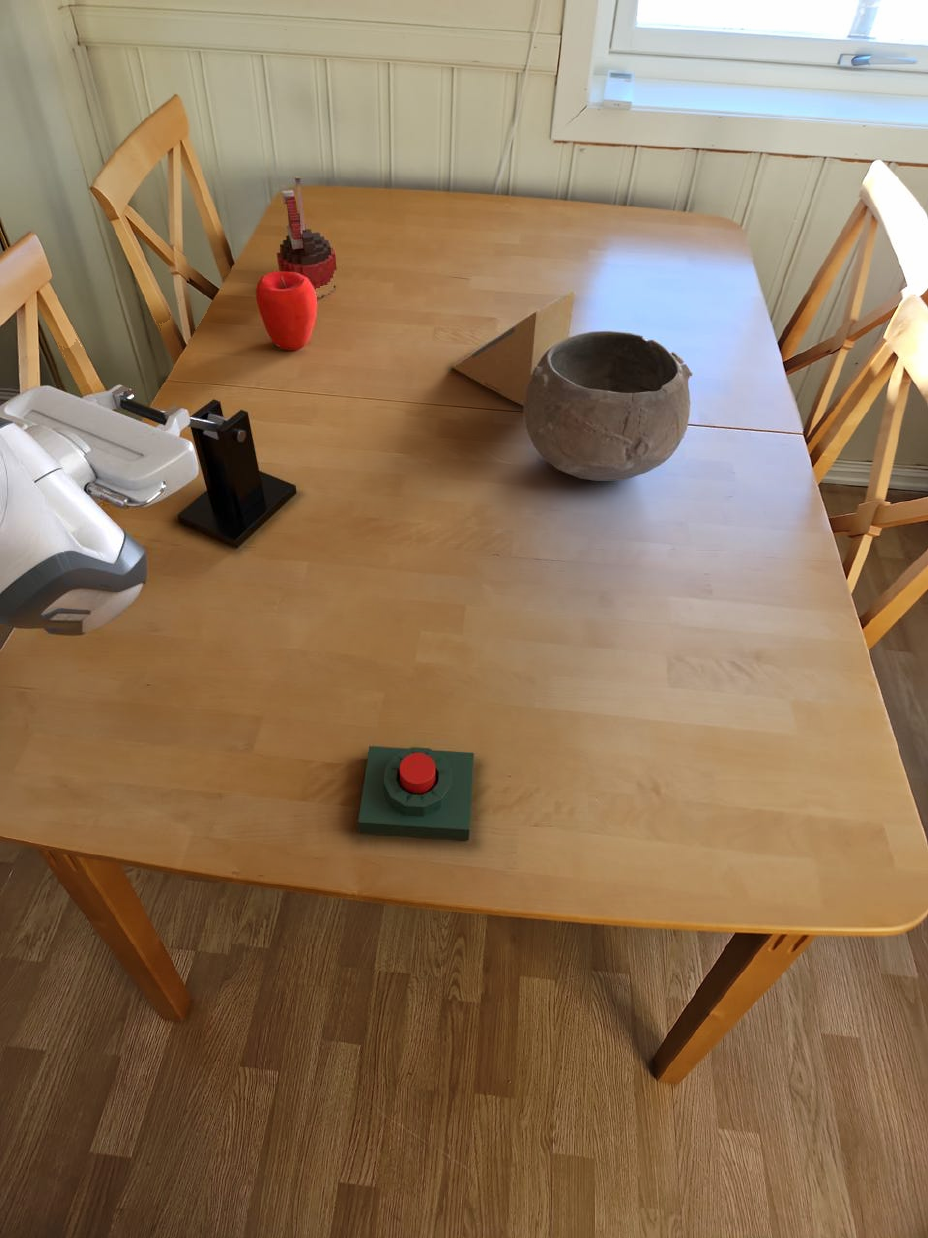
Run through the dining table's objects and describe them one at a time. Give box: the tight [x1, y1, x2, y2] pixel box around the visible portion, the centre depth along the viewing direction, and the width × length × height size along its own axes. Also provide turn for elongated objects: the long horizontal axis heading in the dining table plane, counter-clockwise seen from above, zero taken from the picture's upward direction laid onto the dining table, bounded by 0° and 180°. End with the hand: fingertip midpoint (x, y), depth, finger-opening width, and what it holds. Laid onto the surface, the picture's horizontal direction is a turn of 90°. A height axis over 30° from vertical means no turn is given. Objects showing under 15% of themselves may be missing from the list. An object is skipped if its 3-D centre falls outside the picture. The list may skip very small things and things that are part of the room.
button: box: [400, 753, 435, 794], centre depth 74 cm, size 3×3×2 cm
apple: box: [255, 270, 318, 351], centre depth 125 cm, size 9×9×11 cm
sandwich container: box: [452, 290, 576, 407], centre depth 119 cm, size 9×15×15 cm, turn 47°
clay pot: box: [523, 330, 693, 482], centre depth 107 cm, size 21×21×15 cm
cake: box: [276, 175, 339, 298], centre depth 134 cm, size 11×9×18 cm
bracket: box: [176, 398, 298, 549], centre depth 98 cm, size 12×9×14 cm
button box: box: [357, 745, 475, 842], centre depth 76 cm, size 10×8×4 cm
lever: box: [120, 398, 229, 440], centre depth 89 cm, size 14×6×2 cm
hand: (155, 402), depth 84 cm, fingers closed on lever, 6 cm apart
